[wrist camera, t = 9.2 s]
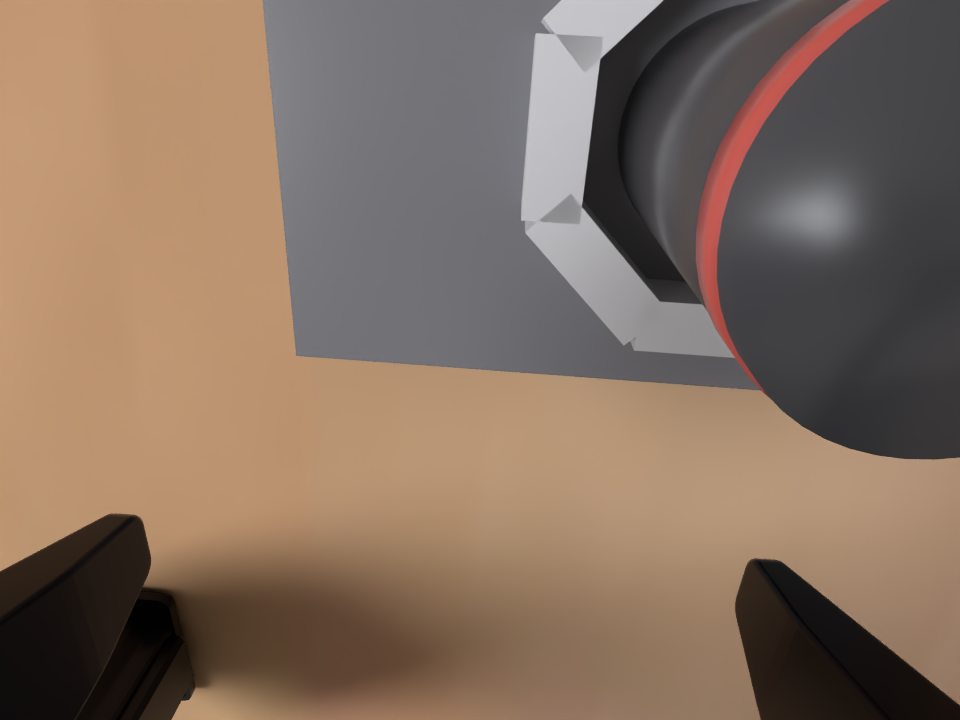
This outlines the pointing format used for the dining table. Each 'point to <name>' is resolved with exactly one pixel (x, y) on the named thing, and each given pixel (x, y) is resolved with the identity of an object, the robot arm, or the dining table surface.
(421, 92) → the octagon ring plate
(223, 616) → the dining table surface
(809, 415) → the lens
